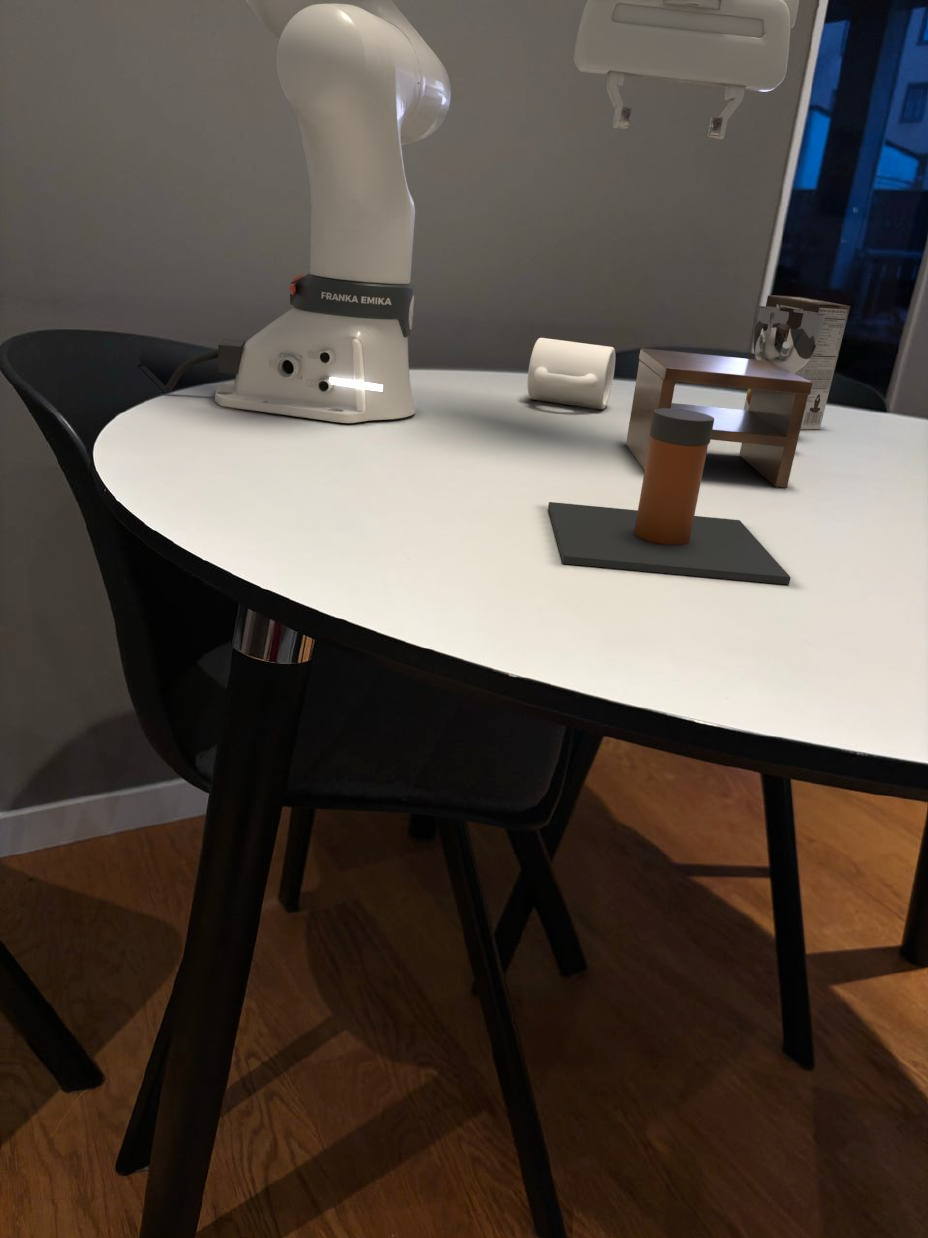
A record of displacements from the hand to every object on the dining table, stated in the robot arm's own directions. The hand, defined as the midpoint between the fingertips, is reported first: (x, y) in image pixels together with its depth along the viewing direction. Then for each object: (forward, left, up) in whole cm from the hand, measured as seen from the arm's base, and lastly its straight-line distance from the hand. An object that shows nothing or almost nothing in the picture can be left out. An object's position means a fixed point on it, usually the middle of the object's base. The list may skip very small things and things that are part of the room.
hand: (667, 133), depth 96 cm
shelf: (+8, -6, -31) cm, 33 cm away
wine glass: (+21, +16, -31) cm, 41 cm away
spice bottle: (-2, -36, -30) cm, 47 cm away
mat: (-2, -36, -31) cm, 48 cm away
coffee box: (+26, +26, -31) cm, 48 cm away
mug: (-4, +22, -31) cm, 39 cm away
